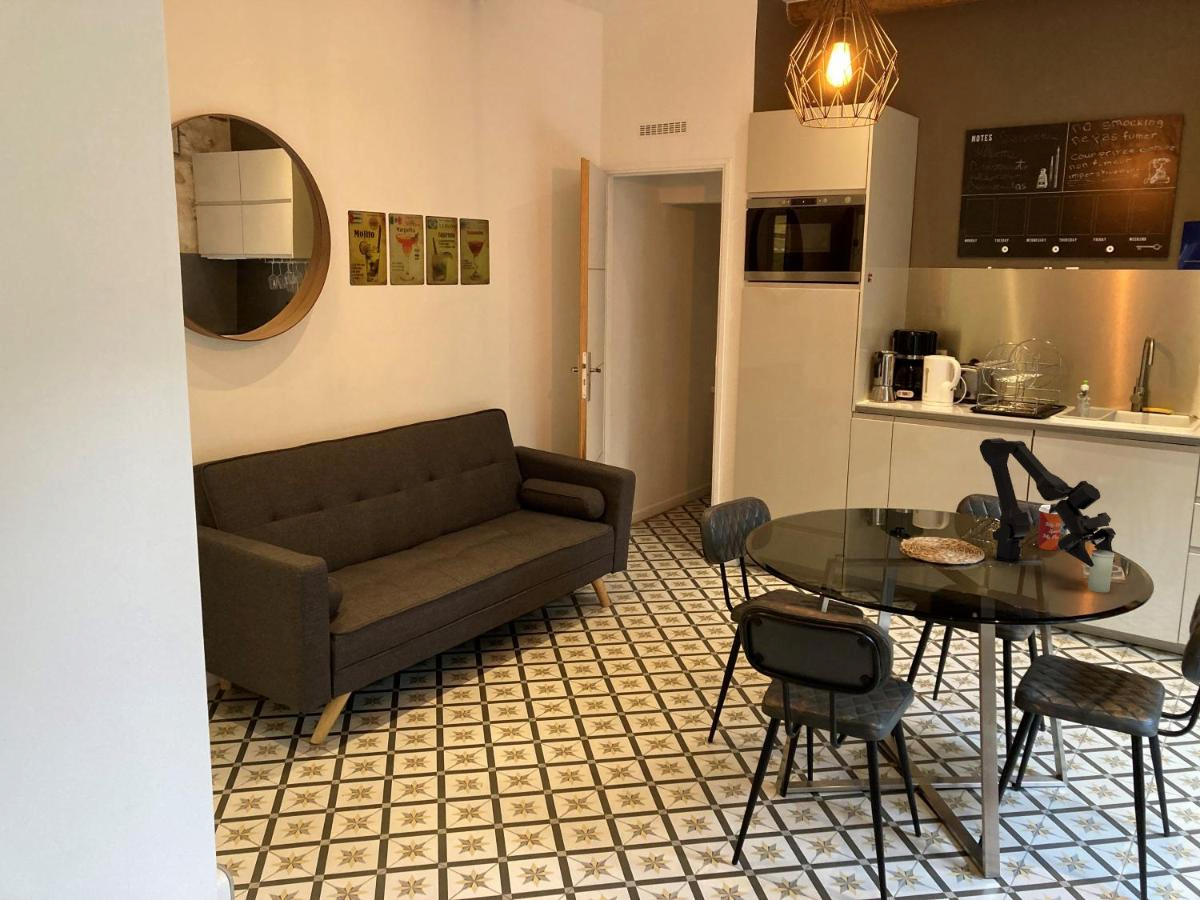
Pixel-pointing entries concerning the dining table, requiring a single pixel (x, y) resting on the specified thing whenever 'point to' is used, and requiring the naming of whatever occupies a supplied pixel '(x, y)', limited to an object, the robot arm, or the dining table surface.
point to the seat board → (1115, 576)
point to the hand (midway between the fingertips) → (1103, 564)
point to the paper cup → (1048, 528)
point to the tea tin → (1100, 571)
